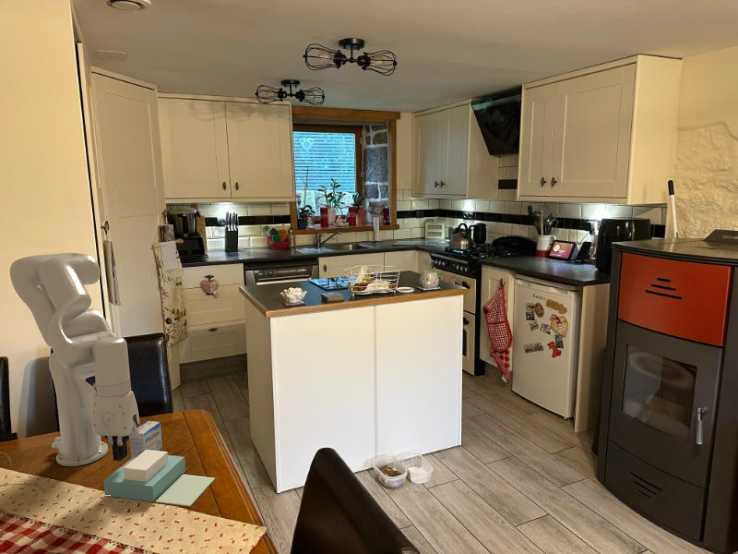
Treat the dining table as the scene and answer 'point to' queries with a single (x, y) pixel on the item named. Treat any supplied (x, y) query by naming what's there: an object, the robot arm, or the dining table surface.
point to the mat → (185, 490)
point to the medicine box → (147, 438)
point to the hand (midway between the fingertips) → (120, 458)
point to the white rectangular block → (145, 465)
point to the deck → (145, 490)
